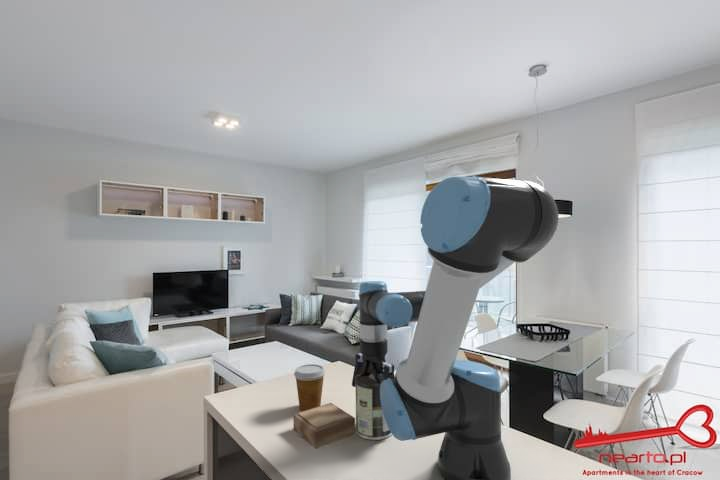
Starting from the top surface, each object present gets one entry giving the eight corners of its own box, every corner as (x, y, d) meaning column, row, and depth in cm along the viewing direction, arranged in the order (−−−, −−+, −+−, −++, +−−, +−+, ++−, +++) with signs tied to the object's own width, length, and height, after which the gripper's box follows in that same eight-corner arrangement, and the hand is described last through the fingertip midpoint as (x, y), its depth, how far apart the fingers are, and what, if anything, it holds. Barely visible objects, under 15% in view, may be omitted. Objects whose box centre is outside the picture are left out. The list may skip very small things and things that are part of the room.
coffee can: (395, 423, 101) (395, 372, 101) (391, 442, 91) (390, 386, 91) (359, 419, 103) (359, 370, 103) (351, 438, 93) (351, 383, 93)
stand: (355, 433, 96) (354, 416, 96) (315, 448, 88) (315, 430, 89) (331, 416, 105) (330, 401, 105) (293, 429, 98) (293, 412, 98)
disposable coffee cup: (328, 401, 116) (327, 364, 116) (322, 415, 106) (321, 374, 106) (299, 400, 116) (298, 363, 117) (290, 414, 107) (290, 373, 107)
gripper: (413, 345, 91) (414, 434, 90) (359, 329, 109) (360, 403, 108) (391, 350, 86) (392, 444, 86) (338, 333, 104) (339, 410, 104)
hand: (374, 421), depth 97 cm, fingers closed on coffee can, 10 cm apart
